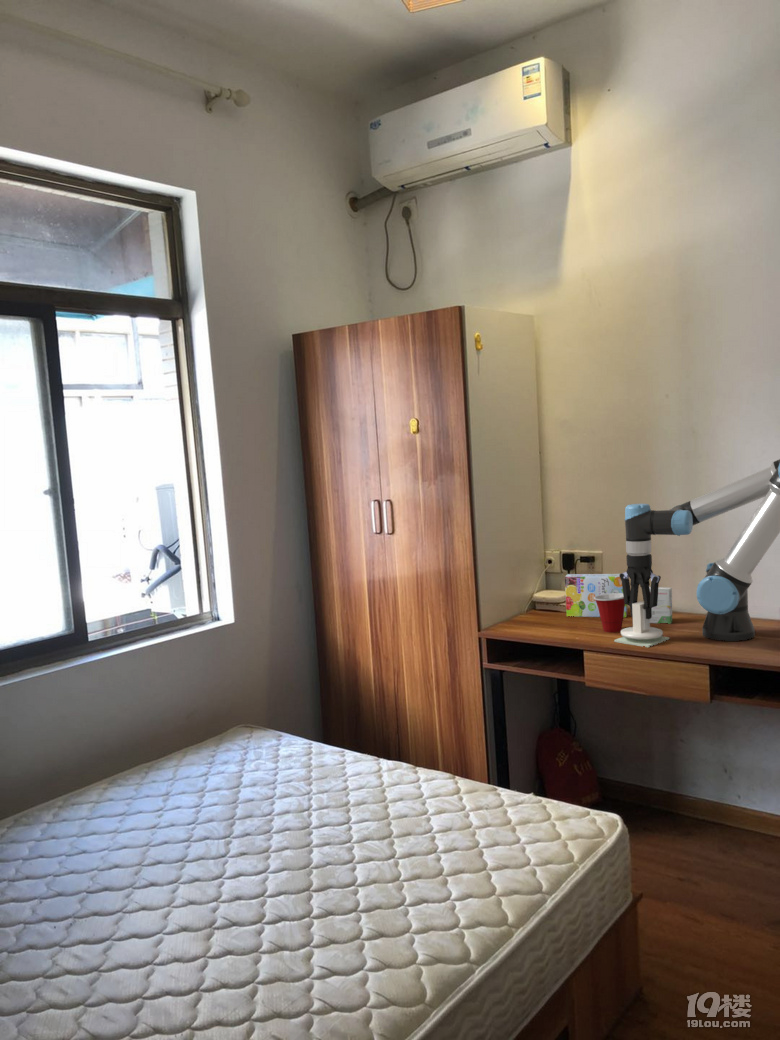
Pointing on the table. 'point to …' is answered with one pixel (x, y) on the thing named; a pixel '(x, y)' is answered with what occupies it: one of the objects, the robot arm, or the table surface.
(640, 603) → the lid
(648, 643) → the mat
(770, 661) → the table surface
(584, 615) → the snack box
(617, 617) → the plastic cup
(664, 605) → the ink box
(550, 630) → the table surface
